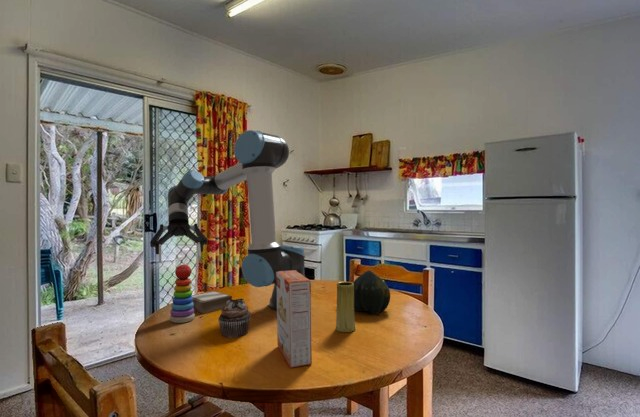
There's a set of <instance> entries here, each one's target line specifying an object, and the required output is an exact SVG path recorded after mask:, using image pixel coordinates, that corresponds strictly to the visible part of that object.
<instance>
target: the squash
mask: <svg viewBox="0 0 640 417" xmlns="http://www.w3.org/2000/svg"><path fill="white" fill-rule="evenodd" d="M352 283H353V284H354V311H356V312H363V311H366V312H370V313H372V314H373V315H377V314H379V313H382V312H384V311H385V310H386V309H387V308H388V307H389V305H390V300H391V291H390V288H389V286H388V285H387V283H386V282H385V281H384V280H383V279H382V278H380V277H379V276H378V275H377V274H376V273H375V272H374V271H372V270H370V269H368V270H367V271H365V272H363V273H362V274H360V275H359V276H357V277H356V279H355V280H353V282H352Z"/></svg>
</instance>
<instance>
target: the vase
mask: <svg viewBox="0 0 640 417" xmlns="http://www.w3.org/2000/svg"><path fill="white" fill-rule="evenodd" d="M335 318H336V319H335V324H336V325H335V330H336V331H337V332H339V333H344V332H348V333H353V332H354V331H356V322H355V309H354V284H353V282H351V281H339V282H338V283H336V317H335ZM352 331H353V332H352Z"/></svg>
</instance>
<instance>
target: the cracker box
mask: <svg viewBox="0 0 640 417" xmlns="http://www.w3.org/2000/svg"><path fill="white" fill-rule="evenodd" d="M276 283H277V310H276V318H277V319H276V322H277V323H276V324H277V326H276V330H277V333H276V334H277V347H278V349H279V350H280V352H281V354H282V356H283V357H284V360H285V362H286V363H287V365H288V367H289V369H292V368H293V369H294V368H298V367H299V368H300V367H303V366H309V365H312V363H313V359H312V358H313V357H312V356H313V355H312V353H313V352H312V347H313V345H312V289H311V288H312V285H311V284H312V282H311V280H310V279H309V278H307V277H306V276H305V275H304V276H303V275H301V274H300V273H299V272H297V271H296V270H291V271H278V272H276Z"/></svg>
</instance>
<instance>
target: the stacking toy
mask: <svg viewBox="0 0 640 417" xmlns="http://www.w3.org/2000/svg"><path fill="white" fill-rule="evenodd" d="M174 274H175V277H176V279H175V281H174V284H175V286H174V287H173V290H174V292H173V293H172V294H173V298H172V301H171V302H172V304H171V309H170V316H169V320H170V322H172V323H174V324H184V323H188V322H191V321H193V320H194V319H195V318H196V314H195V311H194V308H193V306H194V303H193V302H192V300H193V297H192V296H193V290H191V289H192V285H191V283H192V280H191V278H189V277H190V276H191V274H192V269H191V267H190V266H189V265H188V264H180V265H178V266H177V267H176V268H175V272H174Z"/></svg>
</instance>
